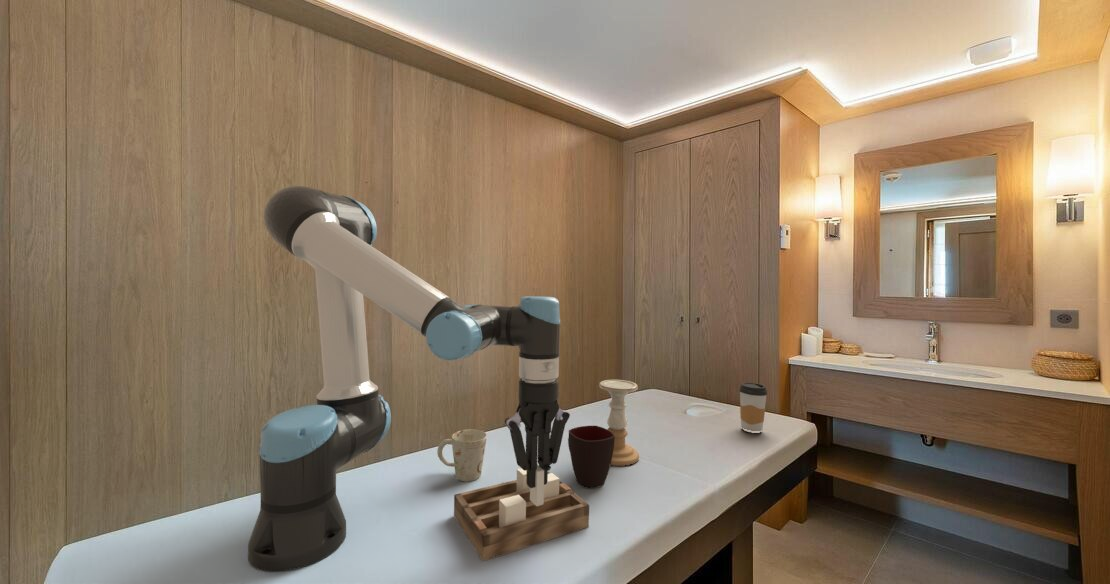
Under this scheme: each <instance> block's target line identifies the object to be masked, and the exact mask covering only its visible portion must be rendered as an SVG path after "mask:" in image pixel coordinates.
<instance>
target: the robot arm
mask: <svg viewBox="0 0 1110 584" xmlns="http://www.w3.org/2000/svg"><path fill="white" fill-rule="evenodd" d="M263 221H264V226H265V229H266V231H267V232H268V234H269V236H270V237H271V238H272V239H273V241H275V243H276V244H278V245H279V246H281V247H282V248H283V249H284V250H286V251H287V252H289V253H290V254H292V255H293V256H295V257H296V258H297V259H299V260H301V261H305V262H306V263H307V264H309V265H310V266H311V267H312V268H313V269H314V272H315V286H316V295H317V296H316V297H317V299H316V300H317V309H318V324H319V334H320V335H319V336H320V349H321V360H322V374H323V375H322V376H323V388H322V389H321V390H320V391H319V392H318V393H317V394H316V404H311V405H310V404H309V405H308V404H307V405H304V406H303V405H302V406H300V407H299V408H296V407H294V408H290V409H288V410H285V411H283V412H280V413H278V414H276V415H274V416H273V417H271V418H270V419H269V420H268V421H267V422H266V423H265V424H264V425H263V427H262V430H261V433H260V443H259V447H258V453H259V469H260V470H259V476H260V477H259V478H260V479H259V482H260V484H259V485H260V487H259V488H260V489H259V490H260V509H259V513H258V516H257V518H256V520H255V524H254V526H253V530H252V533H251V535H250V538H249V540H248V545H247V560H248V563H249V564H250V565H251V566H252V567H253V568H255V569H256V570H257V569H258V570H261V571H265V572H284V571H285V572H286V571H291V570H296V569H299V568H303V567H306V566H308V565H312V564H315V563H316V562H318V561H319V562H320V561H321V560H323V559H325V558H327V557H328V556H329V555H331V554H332V553H334V552H335V551H336V550H337V549H338V548H340V547H341V545H342V544H343V543H344V542H345V539H346V538H347V537H346V536H347V520H346V517H345V514H344V511H343V508H342V507H341V503H340V500H339V498H338V496H337V470H338V469H340V468H341V467H343V466H345V465H346V464H348V463H349V462H352V461H353V460H354V459H356V458H358V457H360V456H361V455H363V454H364V453H367V452H369V451H370V450H372V449H374V447H376V446H377V445H378V443H380V442H381V441H382V440H383V439H384V438H385V437H386V435H387V434H388V432H389V430H390V426H391V422H392V412H391V408H390V405H389V403H388V402H387V401H385V398H384V397H383V396H382V395H381V394H379V387H378V385H377V384H376V383H374V382H373V381H371V379H370V367H369V355H368V354H369V353H368V352H369V351H368V341H367V340H368V339H367V328H366V314H365V303H364V302H365V301H364V296H365V297H366V298H367V299H369V300H370V301H371V302H374V304H376V305H378V306H380V308H382V309H384V310H385V311H387V312H388V313H390V314H392V316H394V317H395V318H397V319H398V320H400V321H401V322H403V323H404V324H406V325H408V327H410V328H412V329H414V331H417V332H418V333H419V334H421V335H422V336H423V337H425V338H426V339H425V340H426V344H427V346H428V347H429V350H430V351H431V353H432V354H434V356H436V357H437V358H439V359H441V360H444V361H455V360H460V359H465V358H467V357H470V356H471V355H474V354H475V353H476V352H477V353H478V352H479V351H482V350H485V349H487V348H488V347H491V346H505V347H506V346H507V347H508V346H509V347H518V348H519V349H518V350H519V352H518V354H519V355H518V356H519V357H518V377H519V378H520V380H519V381H518V406H517V408H516V411H515V412H516V413H515V414H513V415H512V417H507V418H505V420H504V424H505V425H506V426H507V428H508V430H509V433H510V437H511V442H512V443H511V444H512V447H513V452H514V456H515V457H514V458H515V461H516V464H517V466H518V467H520V468H522V469H523V470H527V478H526V483H527V485H528V486H529V487H530V500H531V501H532V502H533V503H534V504H535V505H536V506H540V505H543V504H544V485H545V484H547V481H548V472H549V471H550V470H551V469H552V466H551V465H554V464H556V463H557V462H558V459H559V455H560V449H561V446H562V441H563V436H564V431H565V427H566V424H567V422H568V420H569V419H570V416H571V414H570V413H569V412H568V411H566V410H564V409H561V408H560V404H559V401H558V400H559V386H560V385H559V384H560V383H559V382H560V381H559V380H558V378H559V375H560V374H559V371H560V370H559V369H560V338H561V337H560V335H561V333H560V332H561V316H560V314H561V313H560V302H559V300H558V298H556V297H553V296H543V295H542V296H541V295H537V296H531V295H530V296H529V295H528V296H527V295H526V296H522V297H521V298H520V300H519V304H518V305H516V306H515V305H514V306H505V305H502V306H501V305H488V304H487V305H486V304H485V305H483V304H471V305H469V304H467V305H462V304H460V303H459V302H457V301H456V300H453V299H452V298H451V297H450V296H448V295H446V294H445V293H444V292H443V291H440V290H439V289H437V287H434V286H433V285H432V284H430V283H428V282H426V281H425V280H424V279H423V278H421V277H419V276H418V275H416V274H414V273H413V272H412V271H410V270H409V269H407V268H405V267H404V266H402V265H401V264H399V263H398V262H397V261H395V260H394V259H391V258H390V257H389V256H387V255H385V254H384V253H382V251H380V250H378V249H377V248H375V247H373V243H374V242H375V241H376V238H377V234H378V227H377V226H378V225H377V222H376V219H375V217H374V214H373V213H372V211H371V210H370V209H369V208H368V207H367V206H366V205H365V204H363V203H362V202H360V201H358V200H356V199H354V198H352V197H350V196H346V195H340V194H335V193H332V192H328V191H323V190H320V189H316V188H314V187H310V186H305V185H295V186H288V187H285V188H284V187H283V188H282V189H280V190H277V192H276V193H274V194H273V195H272V196H271V197H270V198H269V199H268V201H267V202H266V205H265V207H264V211H263ZM521 422H522V424H523V425H524V432H525V443H524V438H523V434H522V431H521V429H520V428H521V426H522V425H521Z"/></svg>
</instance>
